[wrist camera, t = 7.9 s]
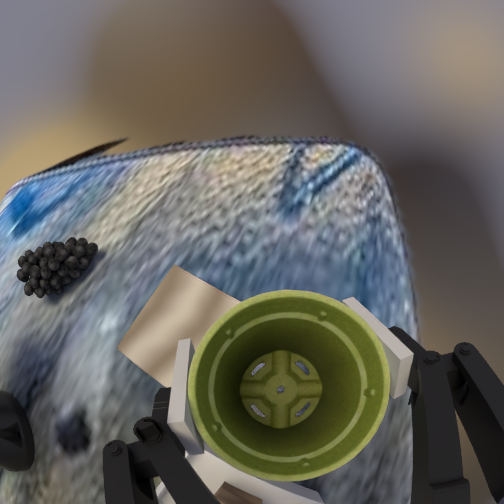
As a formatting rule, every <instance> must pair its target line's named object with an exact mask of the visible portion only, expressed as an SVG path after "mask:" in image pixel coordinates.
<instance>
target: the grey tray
mask: <svg viewBox="0 0 504 504" xmlns="http://www.w3.org/2000/svg"><path fill="white" fill-rule="evenodd" d="M204 453H205V454H199V455H189V454H188V453H187V452H186V450H185V458H186V459H187V460H188V462H189V463H190V464H191V466H192V467H193V469H194V470H195V471H196V473H197V474H198V475H199V477H200V478H201V479H202V481H203V482H204V483H205V485H206V486H207V487H208V488H209V490H210V491H211V492H212V493H213V495H214V494H215V493H216V492H217V490H218V489H219V488H220V487H221V485H222V484H223V483H224V481H225V482H227V483H229V484H231V485H232V486H234V487H236V488H239V489H241V490H243V491H245V492H247V493H249V494H251V495H253V496H256V497H258V498H260V499H262V504H324V502H323V500H322V499H321V497H320V495H319V493H318V492H317V491H314V490H311V489H309V488H306V487H303V486H301V485H298V484H295V483H293V482H281V481H271V480H265V479H261V478H258V477H254V476H251V475H249V474H246V473H244V472H241V471H239V470H237V469H235V468H234V467H232V466H230V465H229V464H227V463H226V462H225V461H224V460H222V459H221V458H220V457H219V456H217V455H216V454H215V453H214V452H213V451H212V450H211V449H210V447H209V446H208V445H207V444H206V442H205V441H204ZM156 494H157V498H158V502H159V504H176V503H175V501H174V500H173V498H172V497H171V495H170V493H169V492H168V490H167V489H166V487H165V485H164V483H163V482H161V483H160V485H159V486H158V487H157V489H156Z"/></svg>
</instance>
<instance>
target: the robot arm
mask: <svg viewBox="0 0 504 504" xmlns="http://www.w3.org/2000/svg"><path fill="white" fill-rule="evenodd" d="M342 302H343V304H344V305H346V306H348V307H349V308H351V309H352V310H353V311H354V312H356V313H357V314H358V315H359V316H361V317H362V318H363V319H364V320H365V321H366V322H367V323H368V324H369V326H370V327H371V328H372V329H373V331H374V332H375V334H376V335H377V337H378V338H379V340H380V342H381V344H382V347H383V350H384V353H385V356H386V359H387V362H388V366H389V371H390V393H389V394H390V395H391V396H392V398H393V399H395V398H397V397H399V396H401V395H403V394H405V393H406V390H407V386H409V387H410V389H411V394H410V398H409V402H408V405H410V403H411V408H412V427H413V476H412V493H411V504H470V484H469V481H468V479H465V478H464V477H463V469H462V456H461V447H460V440H459V433H458V426H457V420H456V414H455V410H456V412H457V414H458V416H459V418H460V420H461V422H462V425H463V426H464V429H465V431H466V433H467V435H468V437H469V440H470V442H471V444H472V446H473V449H474V451H475V453H476V456H477V458H478V461H479V463H480V466H481V468H482V471H483V473H484V476H485V479H486V481H487V484H488V487H489V489H490V492H491V494H492V496H493V497H494V499H495V501H496V502H497V504H504V385H503V384H502V382H501V381H500V380H499V378H498V377H497V375H496V374H495V373H494V371H493V370H492V369H491V367H490V366H489V364H488V363H487V362H486V361H485V359H484V358H483V357H482V355H481V354H480V353H479V351H478V350H477V349H476V348H475V347H474V346H473V345H472V344H470V343H466V342H463V343H459V344H457V345H456V346H455V348H454V352H452V353H448V354H444V355H440V354H439V353H438V352H435V351H426V350H425V349H424V348H423V347H421V346H420V345H419V344H418V343H417V342H416V341H415V340H414V339H412V338H411V337H410V336H409V335H407V333H406V332H405V331H404V330H402V329H400V328H398V327H395V326H393V327H391V328H388V329H387V328H386V327H385V326H384V325H383V324H382V323H381V322H380V321H379V320H378V319H377V318H376V317H374V316H373V315H372V314H371V313H370V312H369V311H368V310H367V309H366V308H365V307H364V306H362V305H361V304H360V303H359V302H358V301H357V300H356V299H355V298H354V297H351V298H348V299H345V300H342ZM194 354H195V349H194V346H193V343H192V341H191V338H189V339H183V340H179V341H178V347H177V353H176V360H175V366H174V373H173V380H172V387H167V388H160V390H159V391H158V392H157V394H156V396H155V401H154V403H155V404H154V406H153V412H152V417H145V418H142V419H140V420H139V421H137V423H136V424H135V425H134V428H133V431H134V434H135V435H136V436H137V438H138V439H139V440H140V441H137V442H134V443H131V444H127V445H126V444H125V443H124V442H123V441H120V440H113V441H111V442H109V443H108V444H106V446H105V447H104V449H103V473H104V489H105V501H106V504H159V502H158V498H157V494H156V489H155V485H154V480H153V477H157V476H159V477H160V478H161V480H162V482H163V483H164V485H165V487H166V489H167V490H168V492H169V493H170V495H171V497H172V498H173V500H174V501H175V503H176V504H221V503H220V502H219V501H218V500H217V498H216V497H215V496H214V495H213V493H212V492H211V491H210V490H209V488H208V487H207V486H206V485H205V483H204V482H203V481H202V479H201V478H200V477H199V475H198V474H197V473H196V471H195V470H194V469H193V467H192V466H191V464H190V463H189V462H188V460H187V459H186V458H185V450H186V452H187V453H188V454H189V455H199V454H205V453H204V439H203V438H202V436H201V435H200V433H199V431H198V430H197V428H196V426H195V423H194V421H193V418H192V415H191V412H190V407H189V402H188V377H189V370H190V366H191V362H192V360H193V356H194ZM454 408H455V409H454ZM33 458H34V443H33V437H32V432H31V429H30V425H29V423H28V420H27V417H26V415H25V413H24V411H23V409H22V407H21V406H20V404H19V403H18V402H17V400H16V399H15V398H14V397H13V396H12V395H11V394H9V393H7V392H5V391H0V467H2V468H5V469H7V470H9V471H14V472H18V471H25V470H27V469H29V468H30V466H31V465H32V462H33Z"/></svg>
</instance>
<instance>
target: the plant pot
mask: <svg viewBox="0 0 504 504" xmlns="http://www.w3.org/2000/svg"><path fill="white" fill-rule="evenodd" d="M295 362H301V363H303V364H304V366H306V367H307V369H308V370H309V375H306V374H305V372H304V371H303V370H302V369H301V368H300V367H298V366H297V365H296V364H295ZM260 363H265V366H263V367H262V368H261V369H260V370H258V371H257V372H256V374H255V375H254V376H252V374H251V372H252V371H253V370H254V368H256V366H257V365H259V364H260ZM281 386H282V387H284V391H283V393H279V392H277V389H278V388H279V387H281ZM389 393H390V371H389V366H388V362H387V359H386V356H385V353H384V350H383V347H382V344H381V342H380V340H379V338H378V337H377V335H376V334H375V332H374V331H373V329H372V328H371V327H370V326H369V324H368V323H367V322H366V321H365V320H364V319H363V318H362V317H361V316H359V315H358V314H357V313H356V312H354V311H353V310H352V309H351V308H349V307H348V306H346V305H344V304H343V303H341V302H339V301H337V300H335V299H333V298H330V297H327V296H324V295H321V294H318V293H313V292H308V291H299V290H280V291H272V292H267V293H263V294H260V295H257V296H254V297H251V298H249V299H247V300H245V301H242V302H240V303H239V304H237V305H235V306H234V307H232V308H231V309H229V310H228V311H227V312H226V313H224V314H223V315H222V316H221V317H220V318H219V319H218V320H217V321H216V322H215V323H214V324H213V325H212V326H211V327H210V328H209V329H208V331H207V332H206V333H205V335H204V336H203V338H202V340H201V341H200V343H199V345H198V347H197V349H196V351H195V354H194V356H193V360H192V362H191V366H190V370H189V377H188V402H189V407H190V412H191V415H192V418H193V421H194V423H195V426H196V428H197V430H198V431H199V433H200V435H201V436H202V438H203V439H204V441H205V442H206V444H207V445H208V446H209V447H210V449H211V450H212V451H213V452H214V453H215V454H216V455H217V456H219V457H220V458H221V459H222V460H224V461H225V462H226V463H227V464H229V465H230V466H232V467H234V468H235V469H237V470H239V471H241V472H244V473H246V474H249V475H251V476H254V477H258V478H261V479H265V480H271V481H281V482H291V481H301V480H307V479H311V478H315V477H318V476H321V475H324V474H326V473H329V472H331V471H333V470H335V469H337V468H339V467H341V466H343V465H344V464H346V463H347V462H349V461H350V460H351V459H353V458H354V457H355V456H356V455H357V454H358V453H359V452H360V451H361V450H362V449H363V448H364V447H365V446H366V445H367V444H368V443H369V441H370V440H371V439H372V437H373V436H374V434H375V433H376V431H377V429H378V427H379V425H380V424H381V422H382V420H383V417H384V415H385V412H386V409H387V406H388V401H389ZM306 403H309V404H310V406H309V407H308V408H307V409H306V411H305V412H304V414H302V415H301V416H299V417H298V416H296V413H297V412H299V411H300V410H301V409H302V408H303V407H304V406H305V405H306ZM252 404H255V406H256V407H257V408H258V409H259V410H260V411H261V412H262V413H263V414H264V415H265V417H261V416H259V415H257V414H256V413H255V412H254V411H253V410H252V408H251V405H252Z"/></svg>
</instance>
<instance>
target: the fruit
mask: <svg viewBox="0 0 504 504" xmlns="http://www.w3.org/2000/svg"><path fill="white" fill-rule="evenodd" d="M97 251H98V247H97V244H95V243H89V244H88V242H87V240H86V239H85V238H80V239H79V240H78V241H77V240H76V239H75V238H74V237H71V238H69V239H68V240H67V242H66V243H65V244H64V243H62V242H53V243H52V244H51V243H50V242H45V243H44V244H43V248H42V247H38V248H37V249H36V251H35V252H32V251H31V250H27V251H26V253H25V256H21V257H20V258H19V260H18V264H19V266H20V267H21V268H22V269H19V270H18V272H17V278H18V279H19V280H20V281H22V282H26V284H25V286H24V291H25V294H26V295H27V296H31V295H32V294H33V292H34V293H35V294H36V295H37V297H38V298H42V297H44V295H45V294H46V295H50V294H51V293H52V292H53V293H55V294H57V295H59V294H60V293H61V292H62V286H61V283H62V284H67V283H69V282H70V280H71V277H73V278H74V279H75V278H78V277H79V276H80V274H81V273H80V269H86V268H87V266H88V265H89V261H91V260H92V259H93V255H94V254H95V253H97ZM29 276H30V278H29ZM70 276H71V277H70ZM28 280H29V282H27V281H28Z"/></svg>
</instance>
